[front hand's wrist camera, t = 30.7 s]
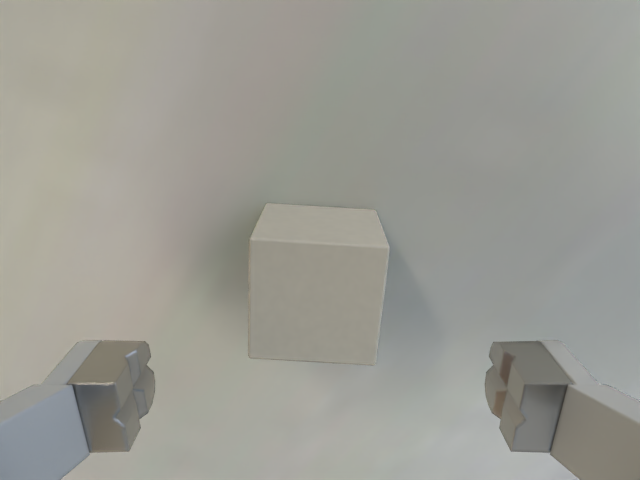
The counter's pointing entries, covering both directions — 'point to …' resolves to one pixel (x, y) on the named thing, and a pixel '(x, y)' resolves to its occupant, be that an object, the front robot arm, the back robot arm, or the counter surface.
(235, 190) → the counter surface
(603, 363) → the counter surface
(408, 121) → the counter surface
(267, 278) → the brick
